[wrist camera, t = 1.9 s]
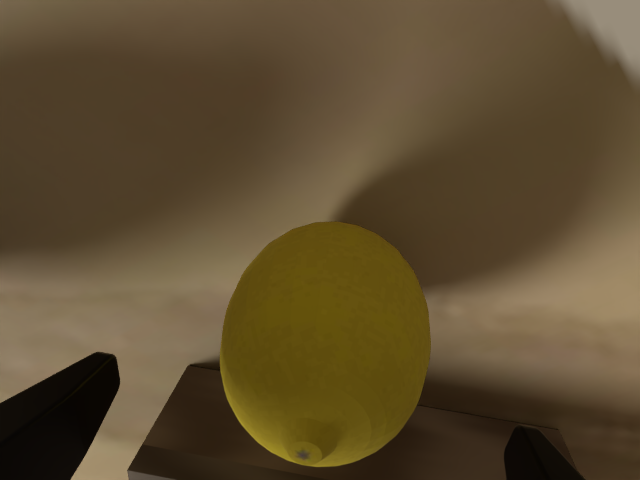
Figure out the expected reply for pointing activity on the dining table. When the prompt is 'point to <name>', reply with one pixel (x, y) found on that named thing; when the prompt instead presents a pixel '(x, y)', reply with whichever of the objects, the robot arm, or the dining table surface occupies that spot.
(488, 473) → the wooden tray
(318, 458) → the lemon
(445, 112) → the dining table surface
